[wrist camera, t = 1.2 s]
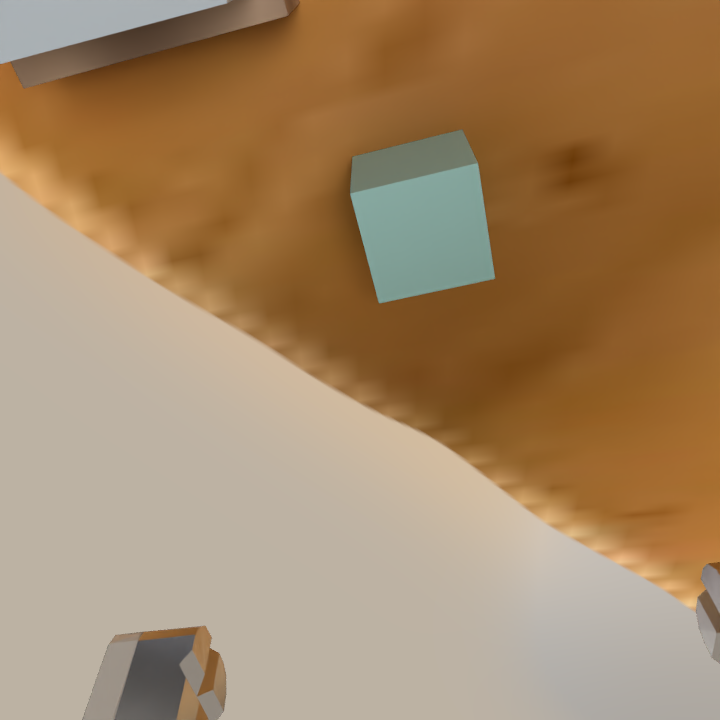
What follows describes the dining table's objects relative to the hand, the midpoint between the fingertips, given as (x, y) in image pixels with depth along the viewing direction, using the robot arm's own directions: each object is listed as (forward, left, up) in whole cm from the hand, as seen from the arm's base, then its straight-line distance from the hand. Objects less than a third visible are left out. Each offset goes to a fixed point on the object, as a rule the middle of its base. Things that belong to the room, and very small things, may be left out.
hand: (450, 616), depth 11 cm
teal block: (-1, +1, -23) cm, 23 cm away
